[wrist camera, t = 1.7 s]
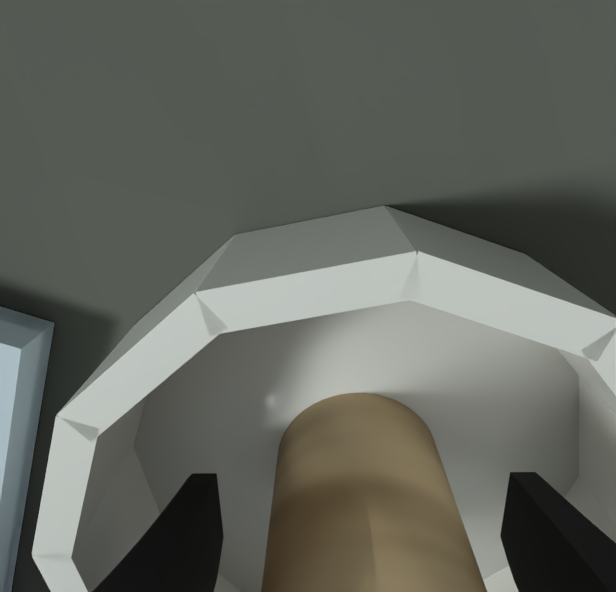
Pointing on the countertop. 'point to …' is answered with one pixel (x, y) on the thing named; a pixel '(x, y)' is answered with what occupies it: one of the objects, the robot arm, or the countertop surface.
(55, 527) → the white faceted bowl
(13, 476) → the blue-grey tray
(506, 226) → the countertop surface
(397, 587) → the oak plug
